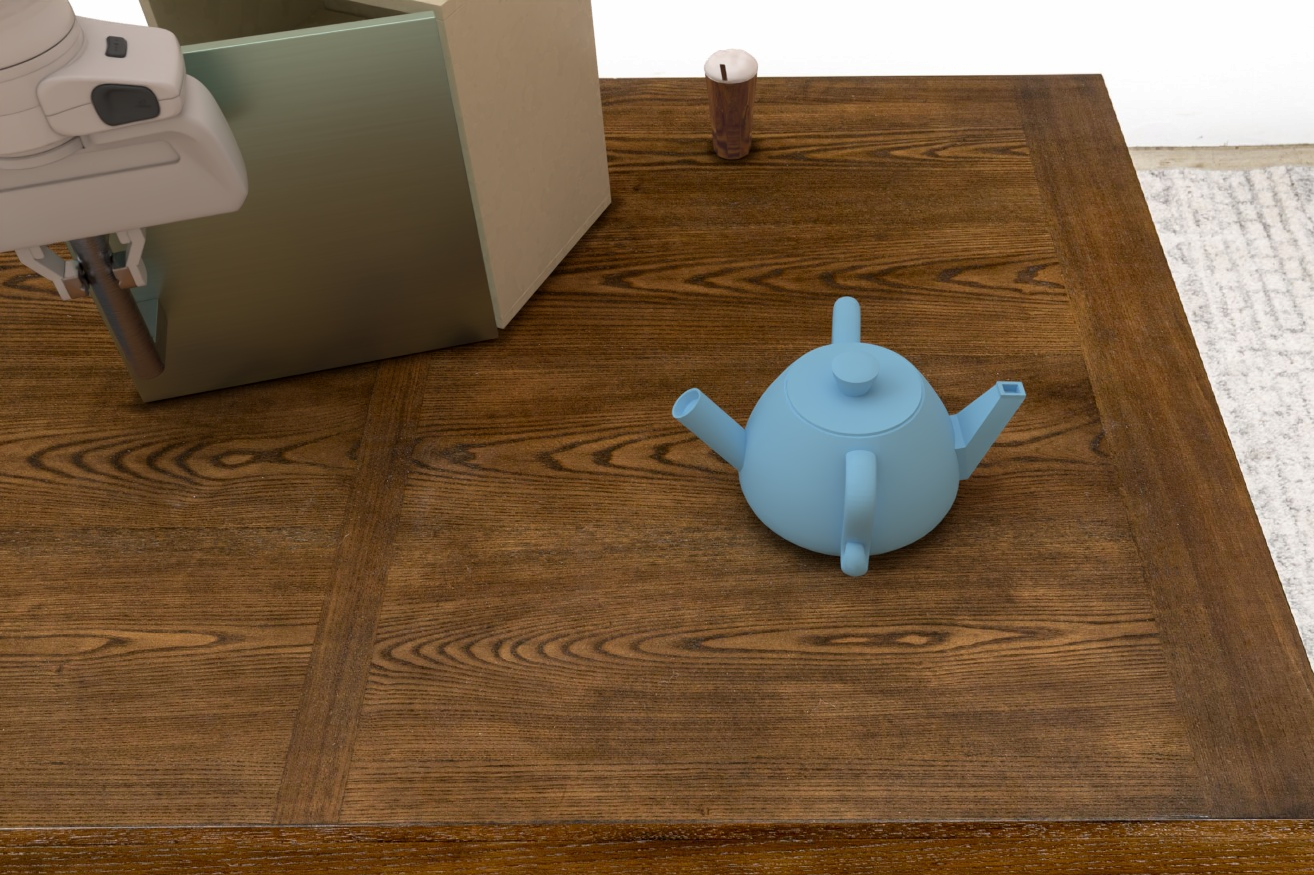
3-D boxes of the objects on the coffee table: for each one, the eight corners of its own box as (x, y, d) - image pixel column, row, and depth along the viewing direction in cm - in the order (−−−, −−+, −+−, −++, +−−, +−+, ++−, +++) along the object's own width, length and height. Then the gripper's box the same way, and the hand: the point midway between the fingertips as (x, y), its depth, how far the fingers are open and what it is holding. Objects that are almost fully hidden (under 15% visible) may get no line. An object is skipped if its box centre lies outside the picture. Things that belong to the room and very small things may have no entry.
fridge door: (510, 390, 92) (446, 65, 73) (139, 460, 88) (-30, 135, 69) (497, 329, 97) (433, 9, 78) (144, 394, 93) (-13, 73, 74)
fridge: (503, 329, 97) (441, 5, 78) (232, 250, 105) (114, -62, 86) (611, 202, 108) (580, -109, 89) (359, 139, 116) (280, -159, 97)
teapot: (810, 370, 93) (815, 246, 85) (1013, 480, 85) (1040, 355, 77) (669, 490, 85) (659, 366, 77) (878, 624, 77) (892, 501, 69)
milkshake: (699, 166, 111) (695, 61, 104) (713, 133, 115) (710, 29, 108) (749, 172, 111) (749, 66, 103) (762, 139, 114) (763, 35, 107)
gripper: (-213, 148, 64) (-81, 353, 74) (204, 82, 68) (276, 287, 78) (-190, 86, 68) (-68, 288, 78) (203, 27, 72) (271, 228, 82)
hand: (106, 287), depth 78 cm, fingers closed on fridge door, 2 cm apart
